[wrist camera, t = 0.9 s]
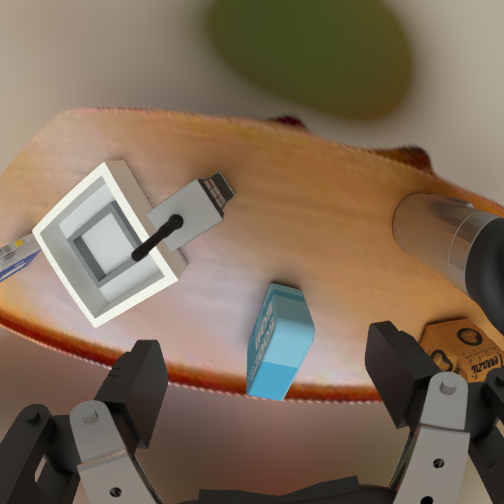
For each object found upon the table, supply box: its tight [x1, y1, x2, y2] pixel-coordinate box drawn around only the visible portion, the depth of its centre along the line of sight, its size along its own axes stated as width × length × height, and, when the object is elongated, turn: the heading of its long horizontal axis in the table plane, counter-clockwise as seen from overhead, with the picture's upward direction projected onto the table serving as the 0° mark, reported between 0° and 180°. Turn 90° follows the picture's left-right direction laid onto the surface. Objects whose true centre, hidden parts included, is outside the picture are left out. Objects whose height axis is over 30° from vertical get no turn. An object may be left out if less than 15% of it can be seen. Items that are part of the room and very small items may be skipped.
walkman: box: [0, 233, 42, 282], centre depth 34 cm, size 8×3×12 cm, turn 122°
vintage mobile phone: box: [131, 171, 235, 262], centre depth 25 cm, size 4×5×25 cm
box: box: [32, 160, 188, 328], centre depth 36 cm, size 16×17×6 cm
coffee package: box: [419, 319, 504, 383], centre depth 34 cm, size 10×12×22 cm
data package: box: [247, 283, 315, 401], centre depth 37 cm, size 12×4×12 cm, turn 163°
